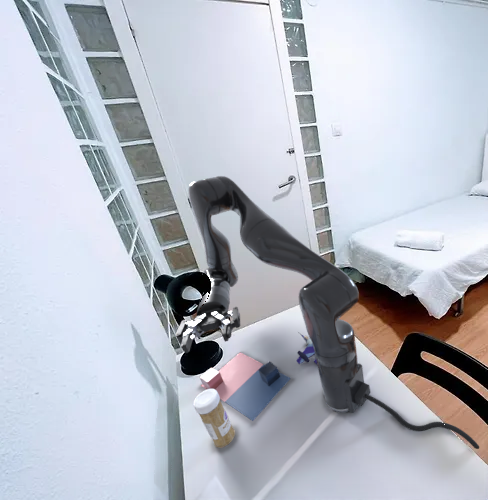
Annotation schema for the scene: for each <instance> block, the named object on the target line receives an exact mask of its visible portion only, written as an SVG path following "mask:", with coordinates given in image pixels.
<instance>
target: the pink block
mask: <svg viewBox="0 0 488 500" xmlns="http://www.w3.org/2000/svg"><path fill="white" fill-rule="evenodd" d="M199 379H200V382H201V384H203V385H204V387H205V388H207V389H216V388H217V387H218V386H219V385H220V384H221V383H222V382H223V379H222V377H221V374H220V372H219V370H217V369H216V368H214V367H210V368H209V369H207V370H206V371H205V372H204V373H203V374H201V376H199ZM204 387H203V388H204ZM205 388H204V389H205Z"/></svg>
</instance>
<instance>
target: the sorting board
mask: <svg viewBox="0 0 488 500" xmlns="http://www.w3.org/2000/svg"><path fill="white" fill-rule="evenodd" d="M264 365H265V364H264V363H262V362H260V361H258V360H256V359H254V358H252V357H250V356H249V355H247V354H244V353H243V352H241V351H240V352H239V353H238V354H236V355H235V356H233V357H232V358H231V359H230V360H229V361H228V362H227V363H226V364H224V365H223V366H222V367H220V369H218V371H219V372H220V374H221V377H222V379H223V382H222V383H221V384H220V385H219V386H218V387H217V388H216V389H215V390H216V391H217V392H218V394H219V397H220V401H223V402H224V403H225V404H227V405H228V406H230V407H231V408H232V409H234V410H236V411H237V412H239V413H240V414H242V415H243V416H245V417H246V418H247V419H249V420H250V421H252V422H253V421H255V419H256V418H257V417H258V416H259V415H260V414H261V413H262V412H263V411H264V410H265V408H267V406H268V405H269V404H270V403H271V401H272V400H273V399H274V398H275V397H276V396H277V395H278V394H279V393H280V391H281V390H282V389H283V388H284V387H285V386H286V384H288V382H290V380H291V377H289V376H288V375H286V374H284V373H282V372H280V371H279V375H280V377H279V378H278V379H277V380H276V381H275V382H273V383H272V384H271V385H270V386H268V385H267V384H266V383H265V382H264V381H263V380H262V379H261V376H260V373H259V371H258V370H259V369H260V368H261V367H263V366H264ZM200 387H202V388H203V389H204V390H207V388H205V387H204V385H203V383H201V385H200Z"/></svg>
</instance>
